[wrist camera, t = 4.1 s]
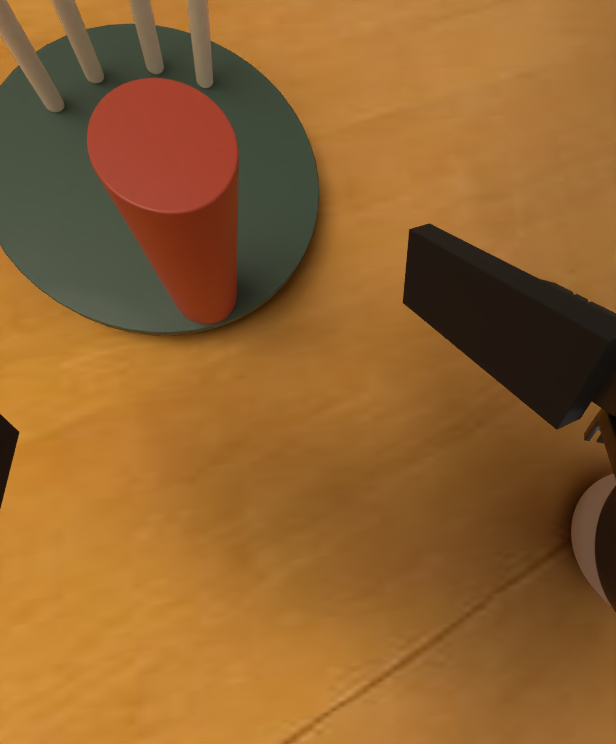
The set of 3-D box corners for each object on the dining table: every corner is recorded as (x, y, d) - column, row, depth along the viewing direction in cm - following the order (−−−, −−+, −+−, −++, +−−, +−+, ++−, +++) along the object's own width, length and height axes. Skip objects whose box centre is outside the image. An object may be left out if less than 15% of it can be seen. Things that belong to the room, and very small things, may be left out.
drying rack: (-51, 73, 19) (-606, -568, 6) (258, 32, 22) (288, -427, 10) (56, 380, 19) (-304, 333, 6) (352, 288, 22) (500, 141, 10)
